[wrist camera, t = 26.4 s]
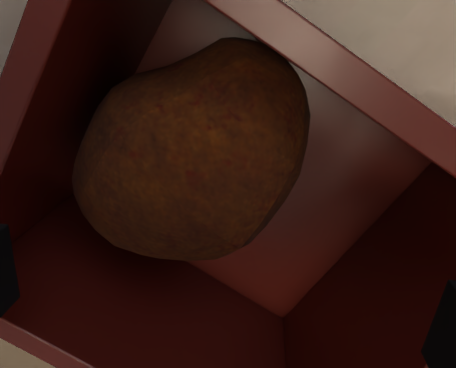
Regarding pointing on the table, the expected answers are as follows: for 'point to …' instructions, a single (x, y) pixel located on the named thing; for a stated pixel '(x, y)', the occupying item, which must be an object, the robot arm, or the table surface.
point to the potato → (194, 152)
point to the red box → (263, 243)
